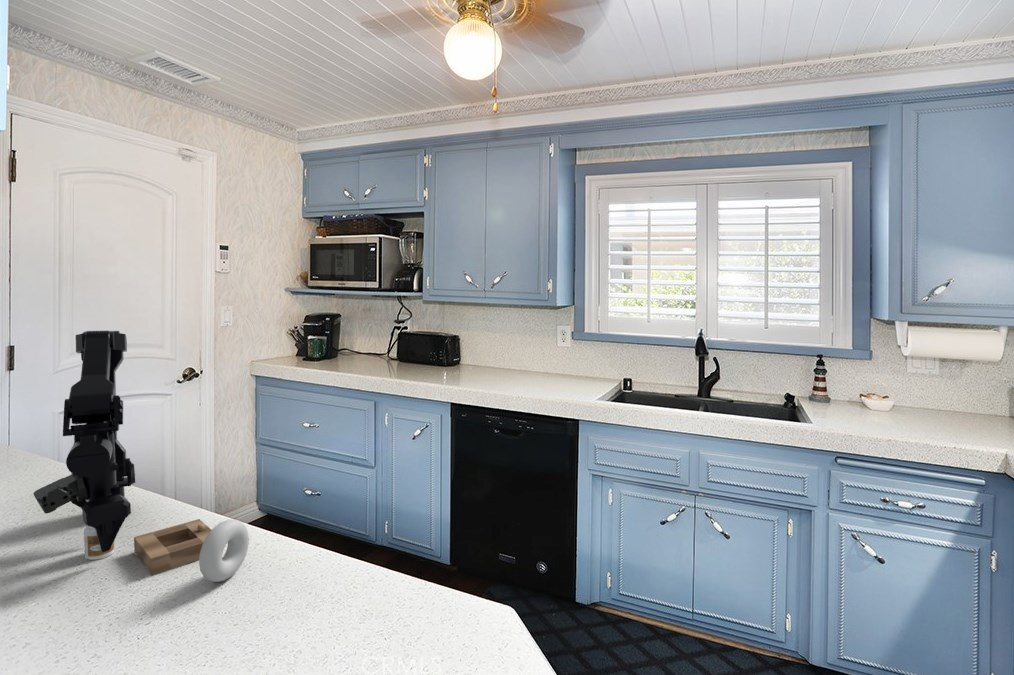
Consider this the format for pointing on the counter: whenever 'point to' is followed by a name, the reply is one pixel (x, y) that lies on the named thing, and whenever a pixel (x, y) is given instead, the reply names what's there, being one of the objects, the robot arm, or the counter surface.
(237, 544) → the donut
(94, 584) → the counter surface
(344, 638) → the counter surface
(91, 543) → the pill bottle
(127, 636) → the counter surface
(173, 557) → the socket block
